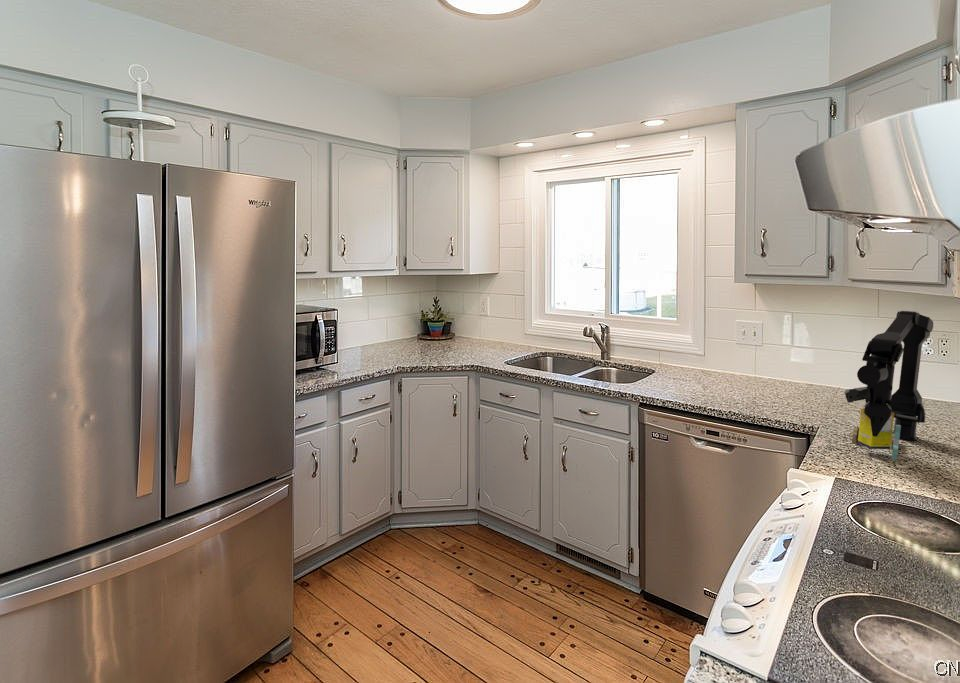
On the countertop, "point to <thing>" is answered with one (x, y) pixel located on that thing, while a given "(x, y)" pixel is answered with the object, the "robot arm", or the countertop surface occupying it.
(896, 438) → the clip gate
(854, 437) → the dock
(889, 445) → the supplement box
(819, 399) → the countertop surface
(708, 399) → the countertop surface
